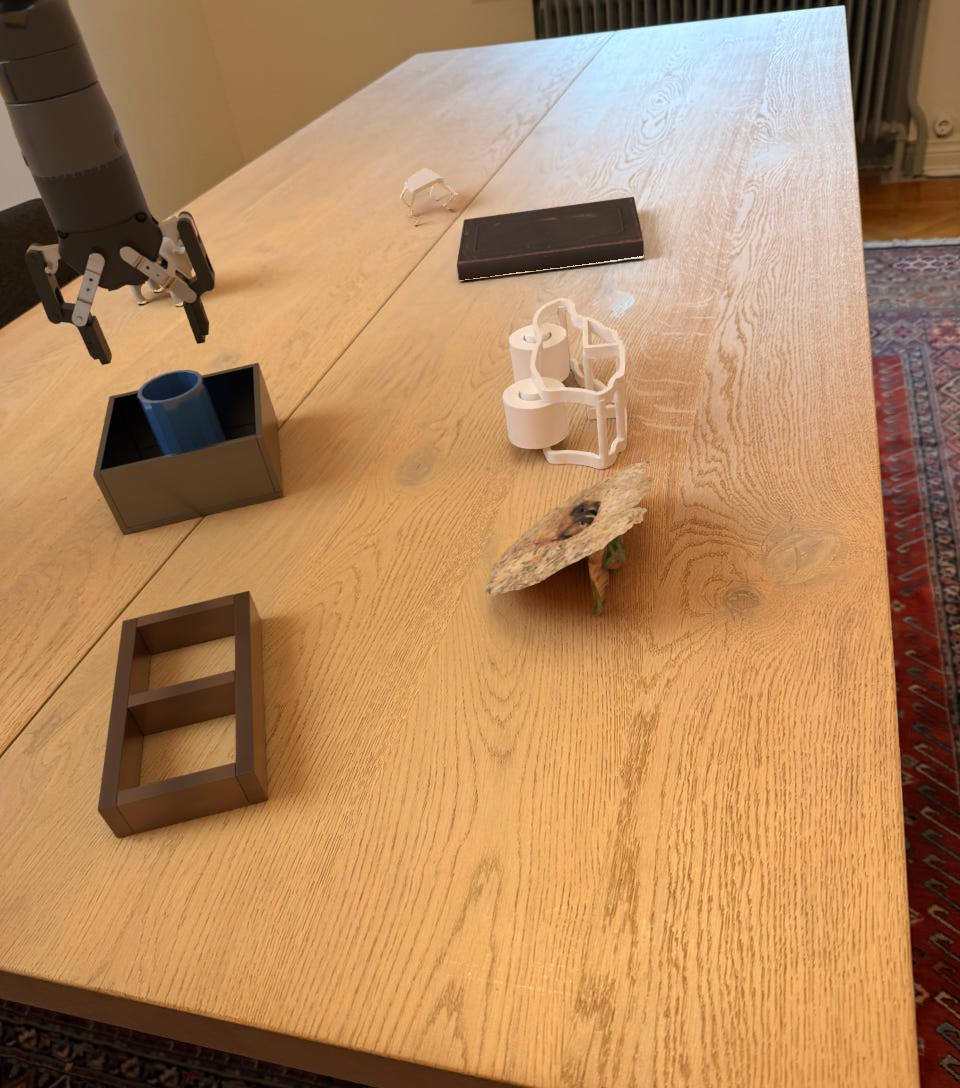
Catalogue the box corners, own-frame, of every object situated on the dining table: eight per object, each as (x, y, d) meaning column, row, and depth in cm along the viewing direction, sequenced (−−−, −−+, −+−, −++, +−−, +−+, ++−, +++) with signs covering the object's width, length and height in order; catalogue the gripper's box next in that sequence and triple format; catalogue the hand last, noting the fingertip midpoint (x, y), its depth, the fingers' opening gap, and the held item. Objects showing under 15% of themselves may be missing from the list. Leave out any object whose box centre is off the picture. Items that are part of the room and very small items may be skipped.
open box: (122, 535, 87) (92, 475, 82) (135, 453, 98) (109, 396, 94) (283, 497, 88) (262, 435, 83) (277, 419, 99) (258, 362, 94)
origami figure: (463, 218, 135) (458, 182, 132) (406, 230, 135) (399, 194, 132) (454, 192, 144) (449, 158, 140) (401, 203, 144) (394, 169, 140)
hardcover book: (466, 236, 130) (463, 219, 128) (634, 214, 126) (633, 196, 125) (459, 283, 118) (456, 265, 116) (644, 260, 115) (643, 241, 113)
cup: (172, 491, 90) (135, 408, 84) (174, 460, 94) (140, 378, 88) (233, 477, 90) (201, 393, 84) (233, 446, 95) (202, 364, 89)
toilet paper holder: (517, 370, 99) (509, 303, 94) (623, 360, 97) (620, 291, 92) (507, 477, 84) (496, 404, 80) (631, 467, 83) (628, 392, 78)
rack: (116, 838, 61) (96, 810, 59) (137, 648, 74) (122, 620, 72) (268, 800, 61) (254, 771, 59) (261, 618, 75) (249, 589, 73)
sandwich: (515, 592, 83) (482, 512, 80) (673, 535, 79) (644, 450, 77) (502, 676, 66) (460, 579, 63) (702, 608, 63) (666, 504, 60)
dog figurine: (205, 308, 124) (176, 226, 117) (128, 306, 129) (95, 227, 122) (226, 290, 128) (199, 210, 121) (150, 289, 132) (120, 211, 125)
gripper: (170, 125, 76) (233, 317, 87) (-5, 161, 75) (80, 350, 86) (165, 149, 70) (232, 351, 81) (-25, 188, 70) (69, 386, 81)
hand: (154, 350), depth 84 cm, fingers open, 8 cm apart
